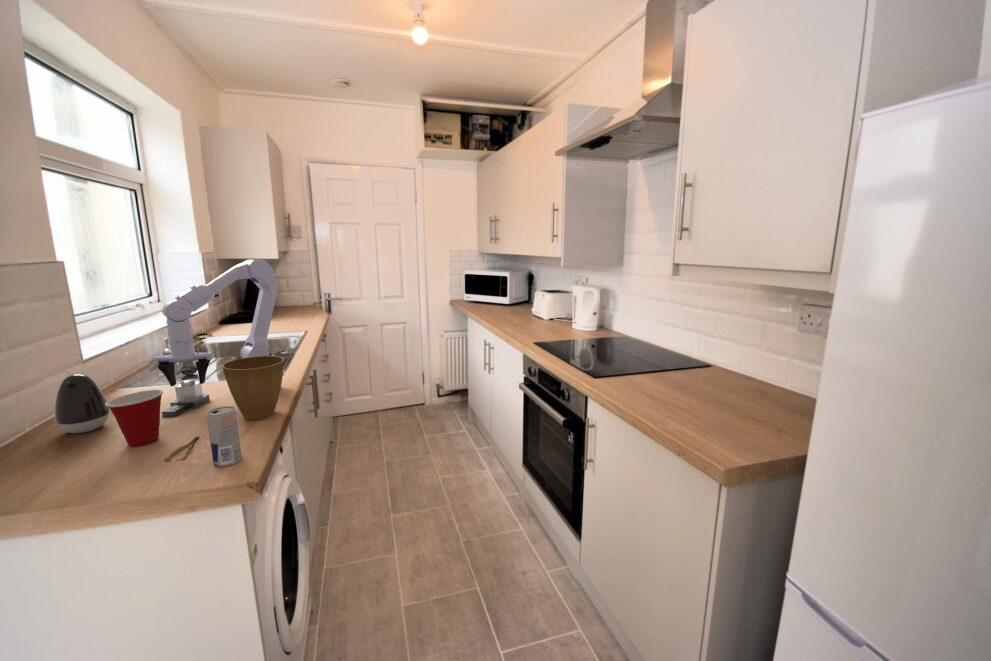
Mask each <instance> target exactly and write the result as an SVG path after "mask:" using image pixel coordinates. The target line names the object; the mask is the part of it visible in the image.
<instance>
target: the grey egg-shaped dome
mask: <svg viewBox="0 0 991 661" xmlns="http://www.w3.org/2000/svg"><path fill="white" fill-rule="evenodd" d="M106 402H108V401H107V399H106V397H105V395H104V394H103V392H102V390H101V388H100V387H99V386H98V385H97V383H96V382H95V381H94V380H93V379H92V378H91V377H89V376H88V375H86V374H81V373H74V374H71V375H68V376H66V377H65V378H64V379H63V380H62V381H61V383H60V385H59V387H58V389H57V393H56V397H55V404H54V421H55V423H56V424H57V425H58V426H59V428H60V429H61V430H62V431H64V432H66V433H69V434H84V433H88V432H91V431H92V432H93V431H95V430H97V429H98V428H101V427H102V426H103V425H104V424H105V423H106V422H107V420H108V418H109V413H110V412H111V410H110V409H109V408H108V407H106V406H105V403H106Z"/></svg>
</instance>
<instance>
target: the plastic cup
mask: <svg viewBox="0 0 991 661" xmlns="http://www.w3.org/2000/svg"><path fill="white" fill-rule="evenodd" d="M163 393H164V392H163V390H162V389H149V390H147V389H146V390H143V391H137V392H132V393H128V394H124V395H121V396H118V397H115V398H112V399H110V400H108V401H107V402H106V403H105V406H106V407H108V408H109V410H110V412H111V413H112V415H113V416H114V418H115V421H116V422H117V425H118V427H119V429H120V431H121V433H122V435H123V437H124V439H125V442H126V444H127V445H128V446H129V447H132V448H134V447H135V448H136V447H142V446H147V445H150V444H153V443H155V442H156V441H157V440H159V437H160V426H161V424H160V423H161V405H162V404H161V403H162V396H163Z"/></svg>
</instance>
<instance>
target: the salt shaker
mask: <svg viewBox="0 0 991 661" xmlns="http://www.w3.org/2000/svg"><path fill="white" fill-rule="evenodd" d="M178 370H179V371H180V373H181V374H182V377H181V379H182V380H190V379H195V378H199V374H197V373H198V370H197V367H196V365H195V363H194V361H182V367H180V368H178Z"/></svg>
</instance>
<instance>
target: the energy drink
mask: <svg viewBox="0 0 991 661" xmlns="http://www.w3.org/2000/svg"><path fill="white" fill-rule="evenodd" d="M237 416H238V415H237V410H236V409H235V407H234V406H231V405H230V406H221V407H214V408H213V409H210V410H208V411H207V415H206V421H207V428H208V435H209V442H210V448H211V456H212V463H213V466H215V467H217V468H224V467H230V466H232V465H235V464H237V463H239V462H240V461H241V460H242V457H243V455H242V450H241V449H242V447H241V442H240V432H239V425H238V417H237Z"/></svg>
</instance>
